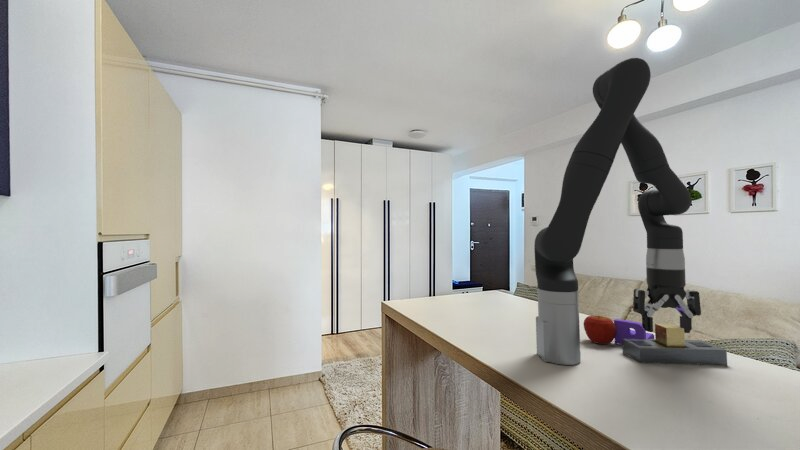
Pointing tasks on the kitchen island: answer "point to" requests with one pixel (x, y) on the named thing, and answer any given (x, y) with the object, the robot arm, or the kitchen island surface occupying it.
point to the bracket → (630, 331)
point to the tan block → (669, 335)
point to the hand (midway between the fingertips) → (666, 331)
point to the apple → (600, 329)
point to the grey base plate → (675, 352)
